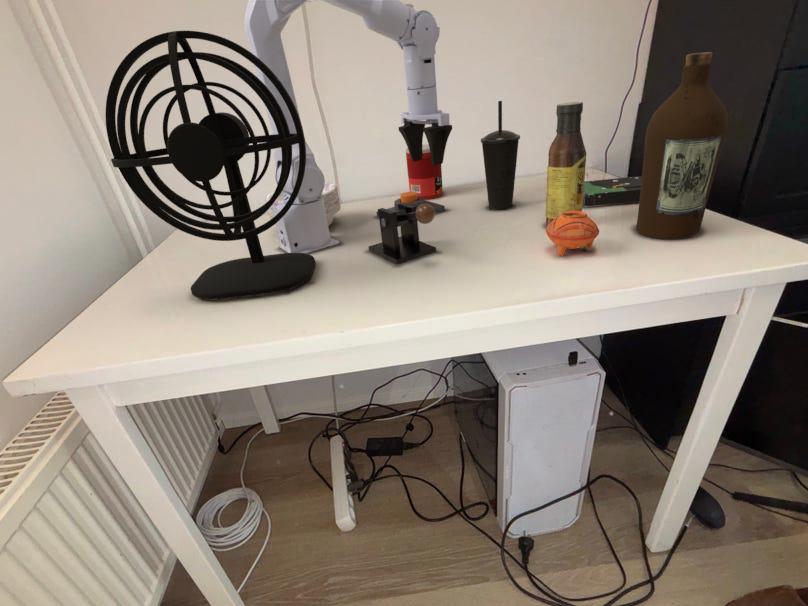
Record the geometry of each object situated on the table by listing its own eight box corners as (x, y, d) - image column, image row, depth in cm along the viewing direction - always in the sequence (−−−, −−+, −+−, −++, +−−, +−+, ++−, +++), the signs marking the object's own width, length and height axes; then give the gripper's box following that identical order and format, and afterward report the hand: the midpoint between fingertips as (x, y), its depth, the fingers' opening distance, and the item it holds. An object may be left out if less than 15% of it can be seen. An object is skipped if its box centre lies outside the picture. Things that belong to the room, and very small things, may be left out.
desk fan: (154, 315, 74) (39, 44, 56) (192, 272, 89) (111, 47, 71) (328, 295, 73) (270, 13, 55) (337, 254, 88) (294, 22, 70)
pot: (531, 248, 80) (541, 205, 77) (571, 249, 82) (582, 208, 79) (560, 261, 73) (571, 215, 70) (602, 262, 75) (615, 218, 72)
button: (406, 205, 102) (405, 197, 101) (398, 202, 105) (397, 194, 104) (420, 201, 104) (420, 193, 103) (411, 198, 106) (411, 190, 105)
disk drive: (642, 189, 103) (570, 195, 104) (644, 175, 101) (571, 181, 103) (662, 201, 94) (583, 208, 95) (664, 186, 93) (584, 193, 94)
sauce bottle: (582, 229, 85) (593, 103, 75) (545, 231, 87) (551, 107, 76) (578, 218, 91) (588, 98, 80) (544, 220, 92) (549, 103, 81)
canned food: (443, 198, 114) (440, 148, 108) (410, 201, 115) (405, 152, 109) (442, 190, 120) (439, 142, 115) (410, 193, 121) (405, 146, 115)
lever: (440, 220, 75) (436, 200, 74) (424, 225, 74) (419, 205, 73) (403, 225, 85) (399, 208, 84) (388, 229, 84) (384, 212, 83)
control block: (397, 225, 100) (396, 210, 98) (376, 217, 107) (374, 203, 105) (445, 211, 105) (444, 197, 103) (422, 204, 111) (420, 191, 110)
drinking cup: (475, 207, 104) (472, 103, 94) (504, 200, 107) (505, 97, 96) (495, 214, 98) (494, 104, 88) (526, 206, 101) (529, 98, 90)
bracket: (436, 252, 84) (433, 207, 80) (397, 265, 81) (391, 219, 76) (405, 240, 91) (401, 197, 87) (368, 251, 88) (362, 208, 84)
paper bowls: (260, 239, 102) (249, 201, 98) (295, 217, 114) (287, 182, 110) (324, 240, 97) (316, 199, 93) (354, 217, 109) (348, 180, 105)
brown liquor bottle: (625, 222, 86) (648, 57, 73) (691, 218, 84) (726, 48, 71) (641, 243, 77) (669, 59, 64) (714, 239, 75) (760, 48, 62)
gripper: (461, 84, 89) (464, 162, 96) (418, 85, 100) (423, 155, 107) (429, 89, 87) (435, 169, 94) (388, 90, 97) (396, 162, 105)
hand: (427, 162), depth 100 cm, fingers open, 7 cm apart
